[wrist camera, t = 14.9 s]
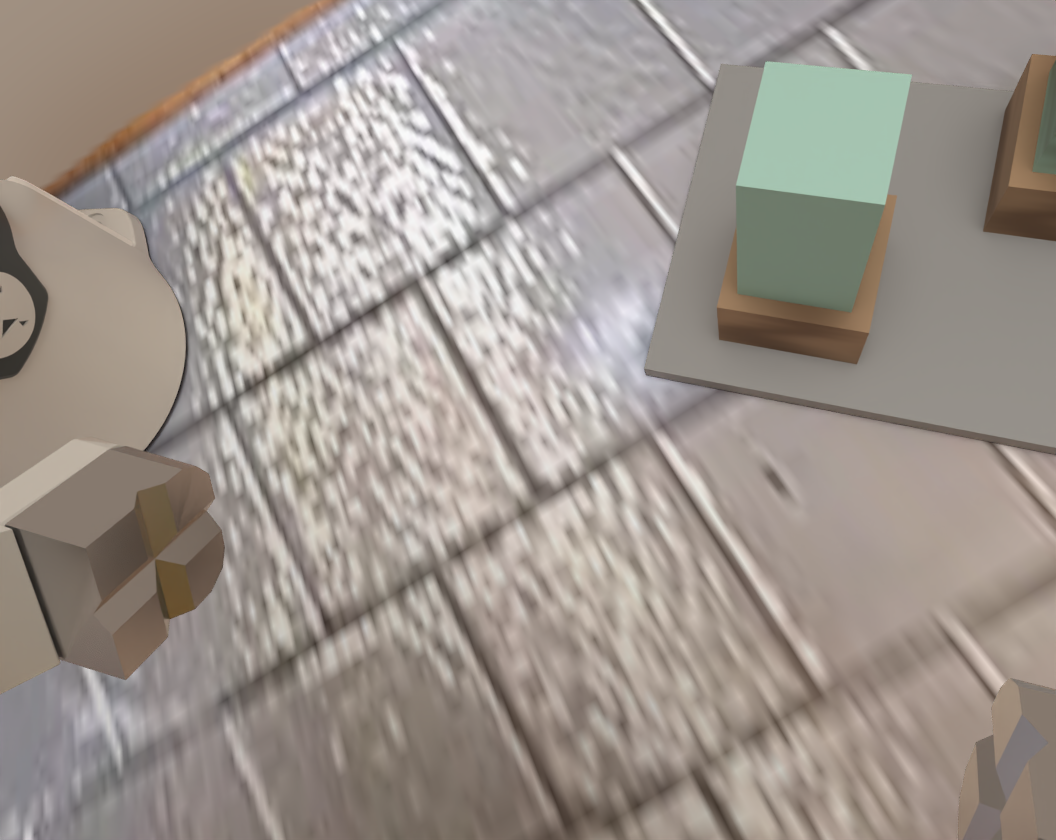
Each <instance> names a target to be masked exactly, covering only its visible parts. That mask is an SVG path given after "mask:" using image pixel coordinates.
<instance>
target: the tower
mask: <svg viewBox="0 0 1056 840" xmlns="http://www.w3.org/2000/svg"><path fill="white" fill-rule="evenodd" d="M983 232H990V233H997V234H1005V235H1012V236H1020V237H1027V238H1035V239H1042V240H1049V241H1056V56H1049V55H1037V54H1032V55H1031V57H1030V59H1029V61H1028V64H1027V66H1026V68H1025V70H1024V72H1023V74H1022V76H1021V78H1020V80H1019V82H1018V84H1017V86H1016V89H1015V91H1014V93H1013V95H1012V97H1011V99H1010V101H1009V103H1008V105H1007V107H1006V109H1005V113H1004V119H1003V124H1002V130H1001V135H1000V141H999V146H998V152H997V157H996V163H995V168H994V174H993V179H992V185H991V190H990V196H989V201H988V206H987V212H986V217H985V223H984V228H983Z"/></svg>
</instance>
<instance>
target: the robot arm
mask: <svg viewBox="0 0 1056 840" xmlns="http://www.w3.org/2000/svg"><path fill="white" fill-rule="evenodd" d="M185 351H186V337H185V328H184V322H183V317H182V313H181V310H180V307H179V304H178V301H177V299H176V297H175V295H174V293H173V291H172V289H171V288H170V286H169V285H168V283H167V282H166V280H165V279H164V278H163V277H162V275H161V274H160V273H159V272H158V270H157V269H156V268H155V266H154V265H153V263H152V262H151V260H150V258H149V254H148V248H147V243H146V238H145V234H144V230H143V227H142V224H141V222H140V221H139V219H138V218H137V217H136V216H134V215H132V214H130V213H128V212H126V211H125V210H123V209H119V208H105V209H84V210H77V209H75V208H73V207H72V206H70V205H68V204H66V203H65V202H63V201H61V200H59V199H58V198H56V197H54V196H52V195H51V194H49V193H47V192H46V191H44V190H42V189H40V188H38V187H37V186H35V185H33V184H31V183H30V182H28V181H26V180H24V179H21V178H18V177H15V176H11V177H9V178H7V179H6V180H1V179H0V694H2V693H4V692H6V691H8V690H10V689H12V688H14V687H16V686H17V685H19V684H21V683H23V682H25V681H27V680H29V679H31V678H33V677H35V676H37V675H39V674H41V673H43V672H45V671H47V670H49V669H51V668H53V667H55V666H57V665H59V664H60V663H61V662H60V660H63V661H67V662H70V663H73V664H76V665H79V666H83V667H86V668H89V669H92V670H95V671H98V672H102V673H105V674H108V675H111V676H114V677H118V678H121V679H124V680H126V679H127V678H128V677H129V676H130V675H131V674H132V673H133V672H134V671H135V670H136V669H137V668H138V667H139V666H140V665H141V664H142V663H143V662H144V661H145V660H146V659H147V658H148V657H149V656H150V655H151V654H152V653H153V652H154V651H155V650H156V649H157V648H158V647H159V646H160V645H161V644H162V643H163V642H164V641H165V640H166V639H167V637H168V633H169V623H170V619H172V618H174V617H177V616H179V615H182V614H184V613H187V612H189V611H192V610H194V609H196V607H197V606H198V605H199V604H200V603H201V602H202V601H203V600H204V599H205V598H206V597H207V596H208V594H209V593H210V592H211V591H212V589H213V587H214V585H215V583H216V581H217V578H218V576H219V574H220V572H221V570H222V568H223V559H224V549H225V546H224V541H223V536H222V530H221V529H220V527H219V526H218V525H217V523H216V522H215V521H214V519H213V518H212V517H211V516H210V514H209V513H208V512H207V510H208V508H209V507H210V505H211V504H212V502H213V501H214V499H215V496H214V492H213V488H212V484H211V480H210V476H209V474H208V473H207V472H205V471H203V470H202V469H200V468H198V467H197V466H194V465H190V464H187V463H183V462H180V461H176V460H173V459H169V458H166V457H163V456H159V455H156V454H152V453H149V452H145V451H143V450H144V449H145V448H146V447H147V446H148V445H149V443H150V442H151V441H152V440H153V438H154V437H155V435H156V434H157V432H158V431H159V429H160V428H161V426H162V425H163V423H164V421H165V419H166V418H167V416H168V414H169V412H170V410H171V407H172V405H173V403H174V400H175V398H176V395H177V392H178V389H179V386H180V383H181V379H182V375H183V369H184V363H185ZM59 659H60V660H59ZM991 714H992V726H993V735H991V736H989V737H987V738H984V739H982V740H980V741H978V742H976V743H975V746H974V748H973V751H972V753H971V756H970V758H969V761H968V763H967V766H966V769H965V773H964V778H963V783H962V787H961V792H960V797H959V809H958V840H1056V689H1052V688H1048V687H1044V686H1040V685H1036V684H1032V683H1028V682H1024V681H1020V680H1016V679H1012V678H1009V679H1008V680H1007V681H1006V682H1005V683H1004V684H1003V685H1002V687H1001V688H1000V690H999V692H998V694H997V696H996V698H995V701H994V703H993V705H992V707H991Z"/></svg>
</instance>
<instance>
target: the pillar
mask: <svg viewBox="0 0 1056 840" xmlns="http://www.w3.org/2000/svg"><path fill="white" fill-rule="evenodd" d="M911 77H912V75H910V74H899V73H888V72H877V71H866V70H855V69H844V68H833V67H822V66H811V65H800V64H789V63H778V62H767V61H766V63H765V67H764V71H763V75H762V79H761V84H760V88H759V92H758V96H757V100H756V104H755V108H754V113H753V117H752V121H751V125H750V129H749V133H748V137H747V142H746V146H745V150H744V154H743V158H742V162H741V166H740V171H739V175H738V179H737V183H736V228H737V294H741V295H747V296H753V297H759V298H765V299H771V300H778V301H784V302H790V303H796V304H802V305H808V306H814V307H820V308H827V309H833V310H839V311H845V312H852V309H853V305H854V302H855V299H856V296H857V293H858V290H859V286H860V283H861V280H862V277H863V274H864V271H865V267H866V264H867V261H868V258H869V255H870V252H871V248H872V245H873V242H874V239H875V236H876V233H877V229H878V226H879V223H880V220H881V217H882V214H883V210H884V207H885V204H886V199H887V194H888V189H889V184H890V179H891V174H892V169H893V165H894V160H895V155H896V150H897V145H898V140H899V135H900V131H901V126H902V121H903V116H904V111H905V106H906V101H907V96H908V92H909V87H910V82H911Z"/></svg>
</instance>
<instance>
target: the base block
mask: <svg viewBox="0 0 1056 840" xmlns="http://www.w3.org/2000/svg"><path fill="white" fill-rule="evenodd" d="M896 199H897V195H889V194H887V199H886V204H885V207H884V210H883V214H882V217H881V220H880V223H879V226H878V229H877V233H876V236H875V239H874V242H873V245H872V248H871V252H870V255H869V258H868V261H867V264H866V267H865V271H864V274H863V277H862V280H861V283H860V286H859V290H858V293H857V296H856V299H855V302H854V305H853V309H852V312H845V311H839V310H833V309H827V308H820V307H814V306H808V305H802V304H796V303H790V302H784V301H778V300H771V299H765V298H759V297H753V296H747V295H741V294H737V228H736V229H735V233H734V237H733V242H732V246H731V250H730V254H729V258H728V262H727V267H726V271H725V275H724V279H723V283H722V287H721V292H720V296H719V300H718V304H717V318H718V331H719V340H723V341H729V342H735V343H740V344H746V345H751V346H757V347H763V348H768V349H774V350H779V351H785V352H791V353H796V354H802V355H807V356H813V357H819V358H824V359H830V360H835V361H841V362H846V363H852V364H857V363H858V360H859V358H860V355H861V353H862V350H863V347H864V345H865V342H866V340H867V337H868V335H869V331H870V326H871V321H872V317H873V312H874V307H875V302H876V297H877V292H878V287H879V282H880V277H881V272H882V267H883V263H884V258H885V253H886V248H887V243H888V238H889V233H890V228H891V223H892V218H893V214H894V209H895V204H896Z"/></svg>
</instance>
